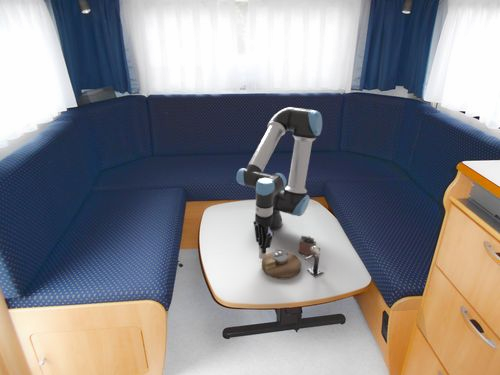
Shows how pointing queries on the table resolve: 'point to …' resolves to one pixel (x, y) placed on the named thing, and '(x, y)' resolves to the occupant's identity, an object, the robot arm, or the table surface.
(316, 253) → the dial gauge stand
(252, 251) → the table surface
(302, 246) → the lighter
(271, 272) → the turntable
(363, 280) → the table surface
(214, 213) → the table surface
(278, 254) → the cover
